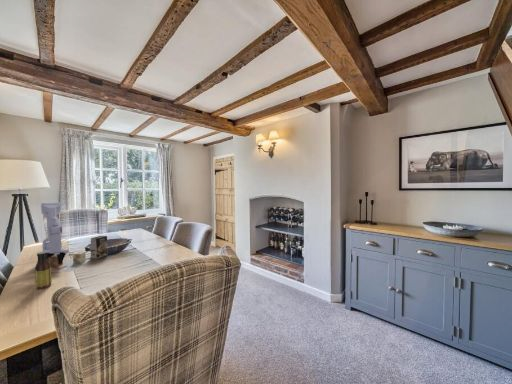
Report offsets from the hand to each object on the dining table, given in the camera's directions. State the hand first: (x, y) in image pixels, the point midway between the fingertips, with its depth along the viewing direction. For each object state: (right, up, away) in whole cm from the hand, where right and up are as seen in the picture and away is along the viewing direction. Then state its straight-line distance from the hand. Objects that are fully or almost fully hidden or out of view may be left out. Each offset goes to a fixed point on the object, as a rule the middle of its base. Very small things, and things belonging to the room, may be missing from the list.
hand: (55, 263), depth 144 cm
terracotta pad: (0, -3, 0) cm, 3 cm away
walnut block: (0, -2, 0) cm, 2 cm away
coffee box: (+11, -3, +25) cm, 28 cm away
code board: (+3, -4, +6) cm, 8 cm away
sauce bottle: (+15, -5, -24) cm, 28 cm away
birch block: (+6, -3, +12) cm, 14 cm away
